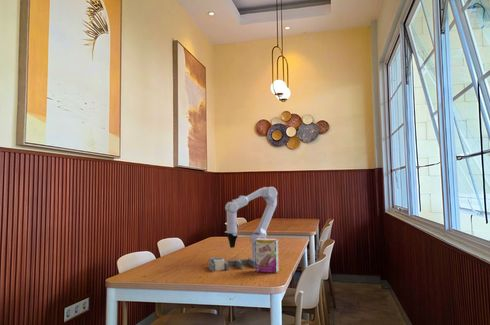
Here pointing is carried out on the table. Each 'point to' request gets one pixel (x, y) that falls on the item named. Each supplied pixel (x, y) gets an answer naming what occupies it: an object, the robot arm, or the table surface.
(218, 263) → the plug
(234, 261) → the e-shaped shelf rack
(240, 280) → the table surface
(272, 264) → the candy bar box
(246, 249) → the table surface
